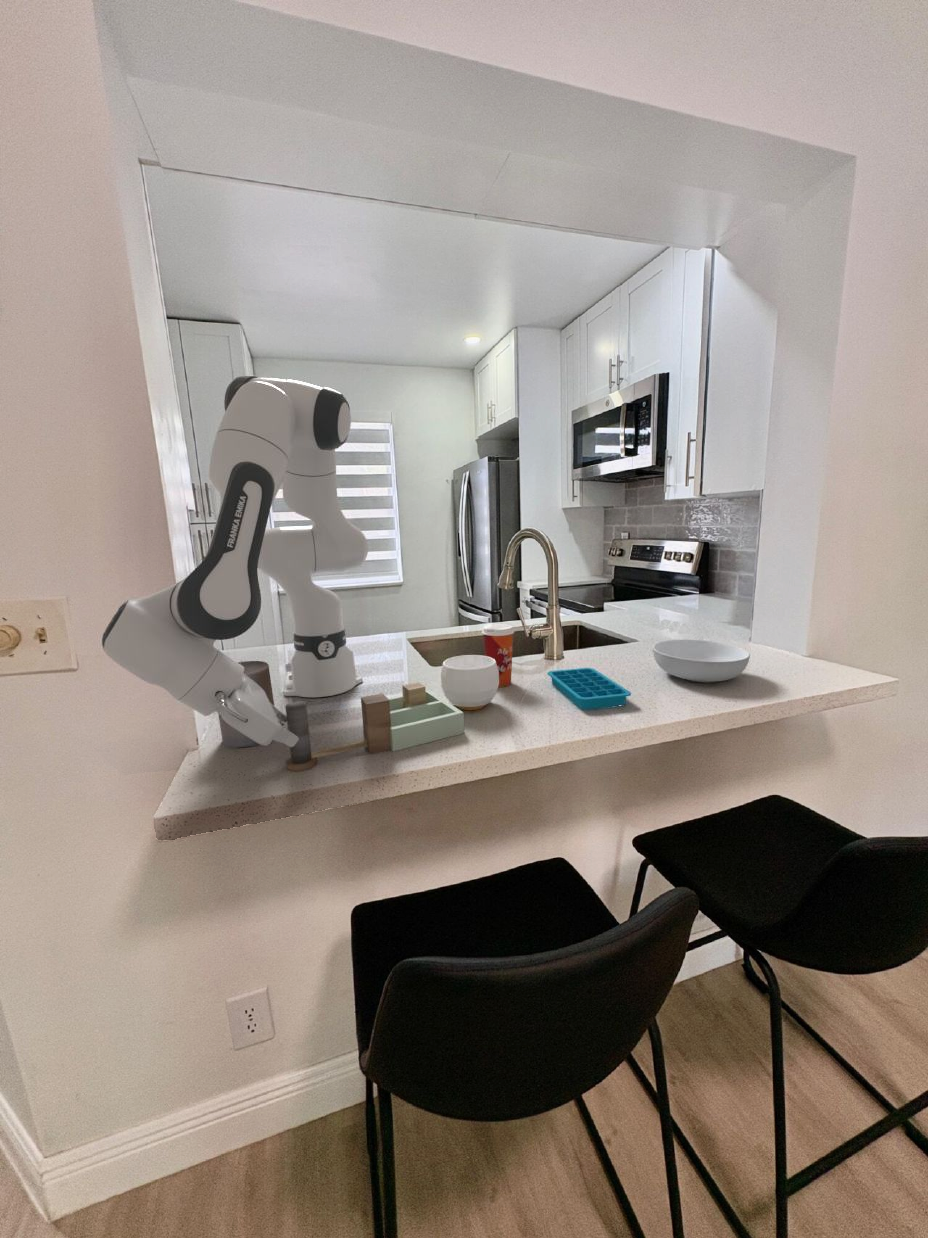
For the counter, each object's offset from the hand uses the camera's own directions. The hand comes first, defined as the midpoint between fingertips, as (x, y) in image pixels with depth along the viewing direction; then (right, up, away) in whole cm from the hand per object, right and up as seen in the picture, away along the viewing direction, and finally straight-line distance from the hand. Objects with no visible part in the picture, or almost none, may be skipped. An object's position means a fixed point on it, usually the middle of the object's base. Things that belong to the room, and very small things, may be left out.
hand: (289, 731), depth 81 cm
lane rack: (+18, -3, +15) cm, 24 cm away
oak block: (+19, -2, +19) cm, 27 cm away
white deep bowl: (+30, 0, +25) cm, 39 cm away
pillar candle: (-12, -4, +13) cm, 19 cm away
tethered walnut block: (+7, -5, +4) cm, 10 cm away
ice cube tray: (+56, +1, +30) cm, 63 cm away
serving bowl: (+85, +4, +39) cm, 93 cm away
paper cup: (+37, +3, +39) cm, 54 cm away
